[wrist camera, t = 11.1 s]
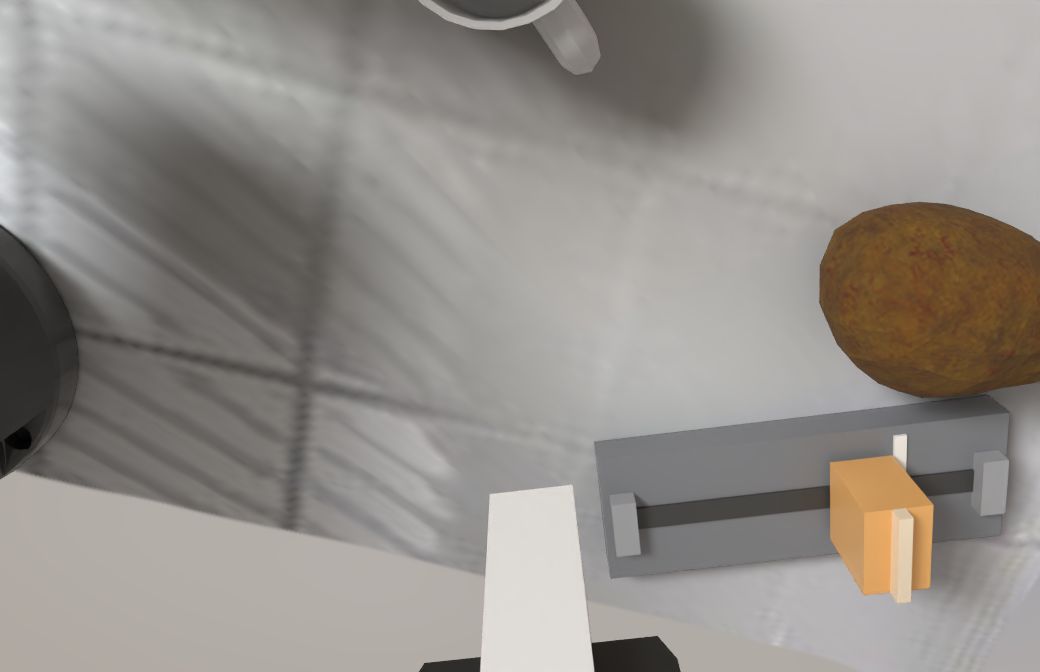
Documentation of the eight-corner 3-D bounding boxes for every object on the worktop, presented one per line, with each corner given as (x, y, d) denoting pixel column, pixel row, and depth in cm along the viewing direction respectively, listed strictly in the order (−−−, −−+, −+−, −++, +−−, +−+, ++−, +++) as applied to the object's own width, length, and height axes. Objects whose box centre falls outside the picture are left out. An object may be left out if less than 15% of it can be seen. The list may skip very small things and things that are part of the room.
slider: (830, 538, 44) (870, 606, 39) (829, 462, 42) (871, 522, 37) (890, 532, 44) (937, 599, 39) (892, 455, 42) (941, 514, 37)
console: (606, 555, 47) (612, 590, 44) (594, 441, 45) (599, 471, 42) (980, 513, 46) (1010, 546, 44) (988, 395, 44) (1020, 421, 41)
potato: (971, 398, 44) (1075, 488, 36) (761, 317, 42) (819, 392, 34) (1067, 248, 41) (1203, 307, 33) (845, 155, 40) (931, 194, 32)
